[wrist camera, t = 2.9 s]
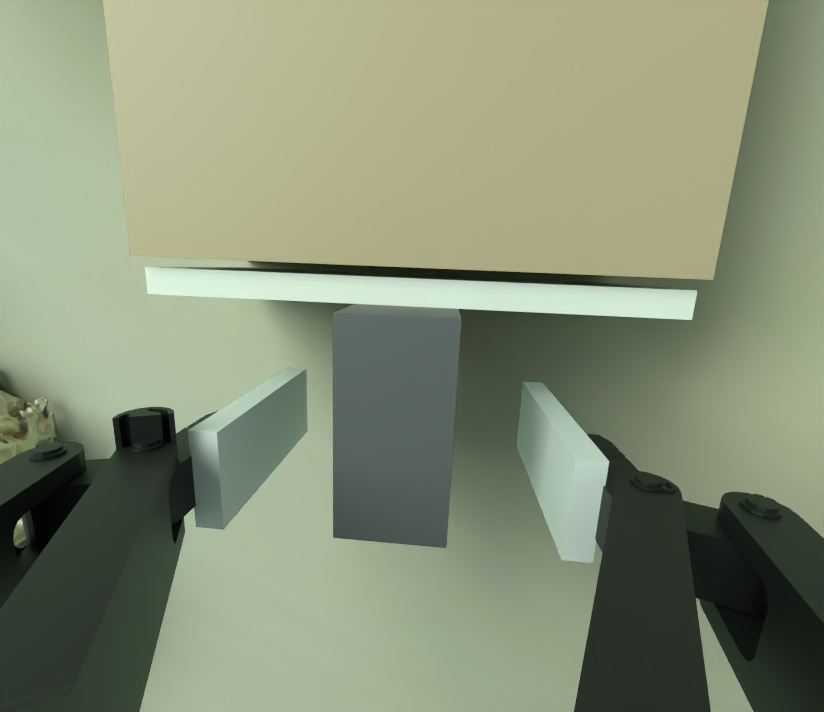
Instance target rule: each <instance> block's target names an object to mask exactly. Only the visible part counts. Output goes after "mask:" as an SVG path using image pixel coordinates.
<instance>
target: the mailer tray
mask: <svg viewBox="0 0 824 712" xmlns="http://www.w3.org/2000/svg"><path fill="white" fill-rule="evenodd" d="M145 272H146V282H147V292H148V294H163V295H184V296H204V297H225V298H246V299H267V300H288V301H308V302H329V303H350V304H353V305H351V306H348V307H346V308H343V309H341V310H338V311H335V312H333V538H343V539H354V540H365V541H376V542H387V543H398V544H409V545H420V546H431V547H442V548H446V545H447V530H448V515H449V500H450V485H451V470H452V455H453V440H454V425H455V410H456V395H457V381H458V366H459V351H460V336H461V321H462V319H461V315H460V312H459V309H474V310H495V311H516V312H537V313H558V314H578V315H599V316H620V317H641V318H661V319H682V320H692V317H693V312H694V306H695V301H696V296H697V291H696V290H685V289H674V288H662V287H651V286H639V285H628V284H617V283H598V282H575V281H551V280H527V279H504V278H480V277H457V276H433V275H410V274H386V273H362V272H339V271H315V270H292V269H268V268H244V267H145Z"/></svg>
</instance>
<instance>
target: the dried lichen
mask: <svg viewBox="0 0 824 712" xmlns="http://www.w3.org/2000/svg"><path fill="white" fill-rule="evenodd" d="M47 402H48V400H47V399H46V398H40V399H37V400H36V401H35V404H32V403H29V402H28V403H27V405H30V406H31V407H28V408H27V411H26V410H25V408H24V401H23V400H22V399H21V398H17V397H14V396H12V395H9V394H8V393H6V392H4V391H1V390H0V464H2V463H3V462H5V461H7V460H9V459H11V458H12V457H14V456H16V455H18V454H20V453H22V452H25V451H27V450H29V449H33V448H36V447H38V446H39V445H42V444H46V443H52V442H54V438H56V436H57V435H56V433H55V429H56V428H55V423H54V418H53V413H50V414H49V415H48V417H46V418H45V417H44V415H43V411H44V407H45V406H46V405H47ZM39 403H40V404H39ZM25 539H26V538H25V533H24V528H23V522H22V517H21V519H20V520H19V521H18V523H17V525H16V527H15V530H14V545H15V546H18V545H19V544H20V543H21V542H22V541H24V540H25Z"/></svg>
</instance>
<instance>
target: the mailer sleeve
mask: <svg viewBox="0 0 824 712" xmlns="http://www.w3.org/2000/svg"><path fill="white" fill-rule="evenodd" d="M768 2H769V0H103V7H104V17H105V26H106V35H107V44H108V53H109V63H110V72H111V81H112V90H113V100H114V109H115V118H116V127H117V136H118V146H119V155H120V164H121V173H122V182H123V192H124V201H125V210H126V219H127V229H128V238H129V247H130V256H144V257H168V258H192V259H217V260H241V261H265V262H290V263H314V264H338V265H363V266H387V267H411V268H436V269H460V270H484V271H509V272H533V273H557V274H582V275H606V276H630V277H655V278H679V279H703V280H713V278H714V273H715V268H716V263H717V258H718V253H719V248H720V243H721V238H722V233H723V228H724V223H725V218H726V213H727V208H728V203H729V198H730V193H731V188H732V183H733V178H734V173H735V168H736V163H737V158H738V153H739V148H740V143H741V138H742V133H743V128H744V123H745V118H746V113H747V108H748V103H749V98H750V93H751V87H752V82H753V77H754V72H755V67H756V62H757V57H758V52H759V47H760V42H761V37H762V32H763V27H764V22H765V17H766V12H767V7H768Z"/></svg>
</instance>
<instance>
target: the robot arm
mask: <svg viewBox="0 0 824 712" xmlns="http://www.w3.org/2000/svg"><path fill="white" fill-rule="evenodd" d="M112 419H113V427H114V435H115V442H116V451H115V452H114V453H113V455H112V456H111V458H110V459H98V460H85V456H84V449H83V445H82V444H79V443H74V442H62V443H60V442H52V443H46V444H42V445H39V446H38V447H36V448H33V449H29V450H27V451H25V452H22V453H20V454H18V455H16V456H14V457H12V458H11V459H9V460H7V461H5V462H3V463H2V464H0V712H139V711H140V707H141V703H142V699H143V695H144V691H145V687H146V683H147V679H148V676H149V672H150V668H151V664H152V660H153V656H154V652H155V648H156V644H157V640H158V636H159V632H160V628H161V624H162V620H163V616H164V613H165V609H166V605H167V601H168V597H169V593H170V589H171V585H172V581H173V577H174V573H175V569H176V565H177V561H178V557H179V553H180V550H181V546H182V542H183V538H184V534H185V527H184V516H185V515H186V514H187V513H188V512H189V511H190V510H191V509H192V508H194V509H195V520H196V527H204V528H215V529H224V528H225V527H226V526H227V525H228V523H229V522H230V521H231V520H232V519H233V518H234V516H235V515H236V514H237V513H238V512H239V511H240V509H241V508H242V507H243V506H244V505H245V504H246V502H247V501H248V500H249V499H250V498H251V497H252V495H253V494H254V493H255V492H256V491H257V490H258V488H259V487H260V486H261V485H262V484H263V482H264V481H265V480H266V479H267V478H268V477H269V475H270V474H271V473H272V472H273V471H274V470H275V468H276V467H277V466H278V465H279V464H280V463H281V461H282V460H283V459H284V458H285V457H286V456H287V454H288V453H289V452H290V451H291V450H292V448H293V447H294V446H295V445H296V444H297V443H298V441H299V440H300V439H301V438H302V437H303V436H304V434H305V433H306V432H307V374H306V368H291V367H288V368H286V369H285V370H283V371H282V372H280V373H278V374H277V375H275V376H274V377H272V378H270V379H269V380H267V381H266V382H264V383H262V384H261V385H259V386H258V387H256V388H254V389H253V390H251V391H250V392H248V393H247V394H245V395H243V396H242V397H240V398H239V399H237V400H235V401H234V402H232V403H231V404H229V405H227V406H226V407H224V408H223V409H221V410H219V411H217V412H214V413H211V414H208V415H206V416H204V417H202V418H201V419H199V420H198V421H196V423H195V422H194V423H193V424H191V425H189V426H188V428H184V429H183V430H181V431H180V432H178V433H176V430H175V420H174V410H172V409H170V408H165V407H147V408H139V409H135V410H130V411H126V412H124V413H121V414H118V415H117V416H115V417H114V418H112ZM516 446H517V449H518V451H519V454H520V456H521V459H522V461H523V464H524V467H525V469H526V472H527V474H528V477H529V479H530V482H531V484H532V487H533V489H534V492H535V494H536V497H537V499H538V502H539V504H540V507H541V509H542V512H543V514H544V517H545V520H546V522H547V525H548V527H549V530H550V532H551V535H552V537H553V540H554V542H555V545H556V547H557V550H558V552H559V555H560V557H561V560H565V561H576V562H587V563H593V560H594V554H595V548H596V542H597V543H598V545H599V547H600V549H601V550H602V552H603V554H602V560H601V565H600V571H599V576H598V582H597V587H596V593H595V599H594V604H593V610H592V615H591V621H590V626H589V632H588V637H587V643H586V648H585V654H584V660H583V665H582V671H581V676H580V682H579V687H578V693H577V698H576V704H575V709H574V712H711V710H710V703H709V695H708V688H707V680H706V673H705V665H704V658H703V650H702V643H701V636H700V628H699V621H698V613H697V606H696V598H698V599H699V600H700V605H701V607H702V609H703V611H704V613H705V615H706V617H707V619H708V621H709V623H710V625H711V627H712V629H713V631H714V633H715V635H716V637H717V639H718V641H719V643H720V645H721V647H722V649H723V651H724V653H725V655H726V657H727V659H728V661H729V663H730V665H731V667H732V669H733V671H734V673H735V675H736V677H737V679H738V681H739V683H740V685H741V687H742V689H743V691H744V693H745V695H746V697H747V699H748V701H749V703H750V705H751V707H752V709H753V711H754V712H824V538H823V537H821V536H820V535H819V534H818V533H817V532H816V531H815V530H814V529H813V528H812V527H811V526H810V525H808V524H807V523H806V522H805V521H804V520H803V519H802V518H801V517H800V516H799V515H797V514H796V513H795V512H793V511H792V510H790V509H789V508H787V507H785V506H783V505H781V504H779V503H777V502H776V501H775V500H773V499H770V498H768V497H767V498H765V496H762V495H758V494H754V495H753V494H749V493H743V492H729V493H725V494H724V495H723V496H722V499H721V503H720V507H719V509H716V508H712V507H707V506H703V505H699V504H694V503H690V502H687V501H683V500H682V494H681V492H680V490H679V488H678V487H677V486H676V485H674V484H673V483H672V482H670V481H668V480H666V479H664V478H662V477H660V476H657V475H654V474H651V473H647V472H641V471H638V470H637V469H636V468H635V467H634V465H633V464H632V463H631V462H630V461H629V460H628V459H627V458H625V456H624V455H623V454H622V453H621V452H619V450H618V449H617V448H616V447H615V446H614V444H613V443H612V442H610V441H608V440H606V439H605V438H603V437H601V436H599V435H593V434H586V433H585V432H584V431H583V430H582V428H581V427H580V426H579V425H578V424H577V423H576V421H575V420H574V419H573V418H572V417H571V415H570V414H569V413H568V412H567V411H566V410H565V408H564V407H563V406H562V405H561V404H560V403H559V401H558V400H557V399H556V398H555V397H554V395H553V394H552V393H551V392H550V391H549V390H548V388H547V387H546V386H545V385H544V384H543V383H539V382H523V387H522V396H521V406H520V416H519V425H518V435H517V445H516ZM21 517H22V522H23V528H24V533H25V538H26V539H25V540H24V541H22V542H21V543H20V544H19V545H18V546H15V545H14V530H15V527H16V525H17V523H18V521H19V520H20V519H21Z"/></svg>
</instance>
